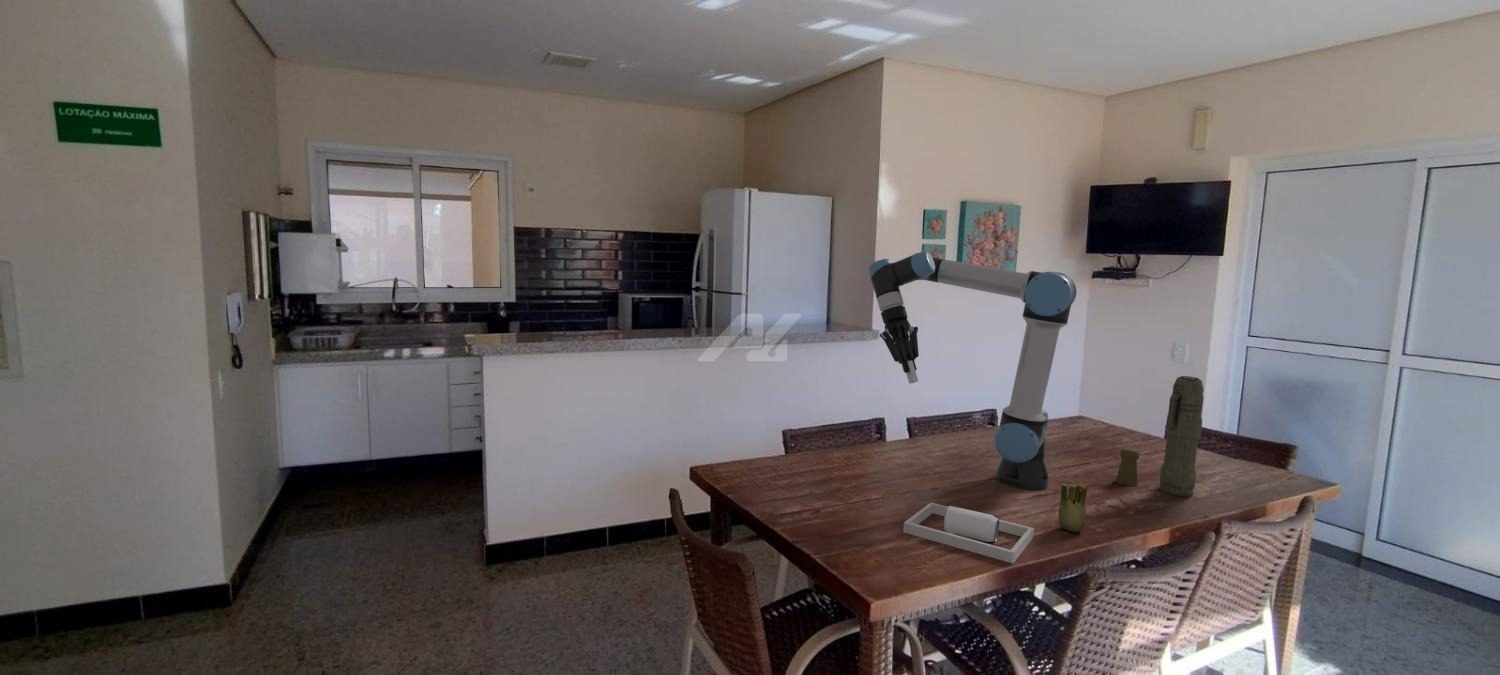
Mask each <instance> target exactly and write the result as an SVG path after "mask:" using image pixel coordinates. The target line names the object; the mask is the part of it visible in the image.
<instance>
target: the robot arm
mask: <svg viewBox="0 0 1500 675" xmlns="http://www.w3.org/2000/svg"><path fill="white" fill-rule="evenodd" d="M868 273H869V276H870V281H871V284H872V287H873V290H874V293H875V297H876V301H877V304H878V307H879V308H878V309H879V311H880V312H881V313H880V315H881V318H882V322H883V324H884V330H883V331H882V332H880V333H879V337H880V338H881V339H882V340H883V342H884V344H886V347H887V349H888V351H889V353H890V354H891V357H892V358H893V361H894V362H895V363H898V364H901V366H902V371H903V372H904V374H906V376H907V381H908V384H910V385H912V384H914V383H917V382H919V378H918V375H917V372H916V371H917V365H916V362H915V361H916V359H917V358H918V357H919V355H920V354H919V353H920V352H919V346H918V345H919V342H918V331H919V327H918V326H913V325H911V323H910V322H909V320H908V314H907V310H906V307H905V304H904V299H903V296H902V293H901V289H900V287H902V286H904V285H908V284H910V283H912V282H915V281H927V282H928V281H929V282H933V283H938V284H939V283H940V284H944V285H949V286H955V287H960V288H965V289H971V290H976V291H981V292H985V293H990V294H996V295H1001V296H1006V297H1012V298H1017V299H1020V300H1021V302H1023V303H1024V305H1023V306H1024V307H1023V313H1022V319H1023V320H1024V321H1025V323H1026V327H1025V330H1024V336H1023V340H1022V345H1021V349H1020V353H1019V354H1020V355H1019V359H1018V364H1017V368H1016V374H1015V378H1014V384H1013V387H1012V393H1011V397H1010V403H1009V405H1007V406H1006V407H1004V408H1002V411H1001V412H1002V413H1001V416H1000V421H999V426H998V429H997V430H996V431H995V434H994V446H995V449H996V451H997V452H998V454H999V455H1000V456H1001V458H1000V461H999V463H998V466H997V468H996V469H995V479H996V481H998V482H999V483H1001V484H1003V485H1006V486H1008V487H1012V488H1017V489H1021V490H1022V489H1023V490H1043V489H1047V488H1048V487H1049V480H1050V479H1049V475H1048V470H1047V466H1046V463H1045V462H1046V461H1045V456H1046V443H1047V433H1048V423H1049V414H1048V412H1047V411H1046V410H1043V407H1044V402H1045V398H1046V392H1047V387H1048V383H1049V379H1050V375H1051V370H1052V366H1053V365H1052V364H1053V361H1054V357H1055V353H1056V348H1057V343H1058V339H1059V334H1060V331H1061V329H1062V328H1064V327H1065V326H1067V324H1068V321H1069V317H1070V312H1071V308H1072V305H1073V303H1074V302H1075V301H1076V300H1075V299H1076V297H1077V287H1076V283H1075V282H1074V280H1073V279H1072V278H1071V277H1070V276H1069V275H1067V274H1065V273H1062V272H1058V271H1044V272H1041V271H1036V270H1035V271H1034V270H1029V271H1028V272H1019V271H1013V270H1009V269H1008V270H1007V269H1002V268H996V267H991V266H983V265H979V264H973V263H966V262H961V261H956V260H950V259H945V258H944V259H942V258H938V257H934V256H932V255H931V253H930V252H929V251H927V250H923V251H921V252H916V253H914V254H912V255H910V256H907V257H905V258H902V259H900V260H897V261H894V262H893V261H892V260H891V259H889V258H883V259H882V258H881V259H879V260H876V261H874V262H872V263H871V264H870V265H869V266H868Z"/></svg>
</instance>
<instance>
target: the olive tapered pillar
mask: <svg viewBox="0 0 1500 675" xmlns="http://www.w3.org/2000/svg"><path fill="white" fill-rule="evenodd" d="M1119 454H1120V463H1119V467H1118V470H1117V474H1116V479H1115V482H1116V484H1119V485H1122V486H1128V487H1136V486H1138V484H1139V483H1138V462H1137V461H1138V460H1139V458H1140V452H1139V450H1138V449H1136V448H1132V447H1123V448H1121V449H1120V453H1119Z"/></svg>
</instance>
